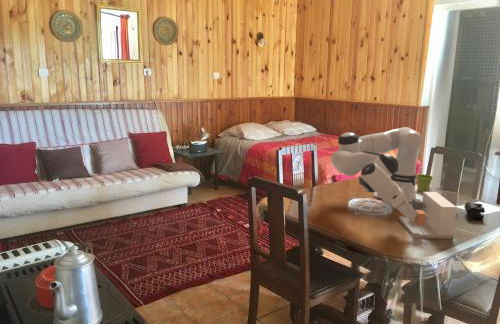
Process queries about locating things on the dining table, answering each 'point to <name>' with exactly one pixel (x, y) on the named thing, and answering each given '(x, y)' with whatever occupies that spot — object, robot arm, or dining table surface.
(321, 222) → the dining table surface
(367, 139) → the robot arm
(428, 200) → the plug console
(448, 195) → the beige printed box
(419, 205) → the grey plug
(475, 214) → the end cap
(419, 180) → the plant pot
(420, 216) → the orange thick block
